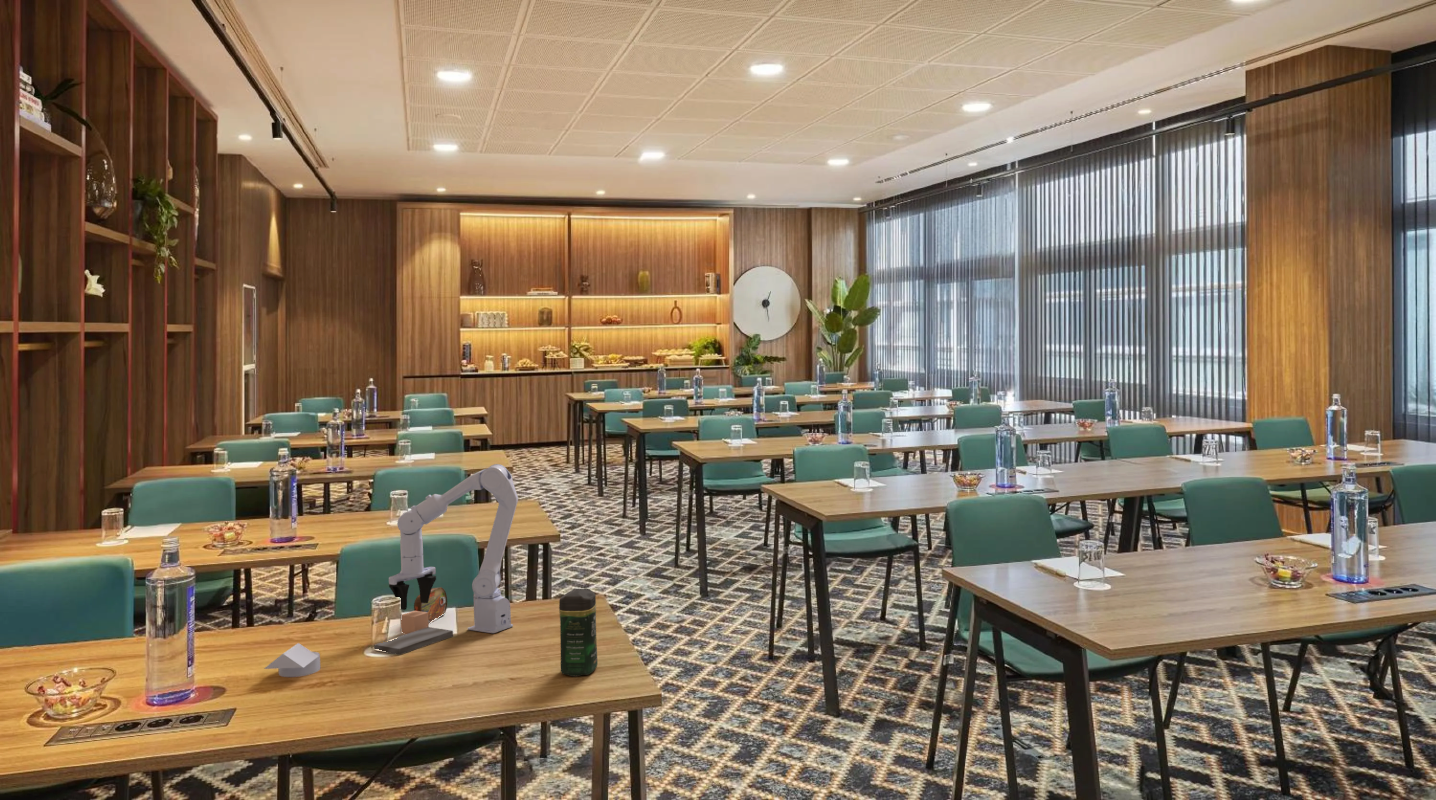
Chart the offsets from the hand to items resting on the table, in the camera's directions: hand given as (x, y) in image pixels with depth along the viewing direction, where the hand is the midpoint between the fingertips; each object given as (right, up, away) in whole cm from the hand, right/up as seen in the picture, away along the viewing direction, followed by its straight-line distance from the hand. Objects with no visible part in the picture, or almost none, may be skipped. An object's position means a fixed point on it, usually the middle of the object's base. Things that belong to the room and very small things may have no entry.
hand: (413, 605), depth 261 cm
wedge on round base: (-17, -9, -34) cm, 39 cm away
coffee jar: (+50, -7, -38) cm, 63 cm away
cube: (0, -7, 0) cm, 7 cm away
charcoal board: (+4, -7, -11) cm, 14 cm away
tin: (+1, -7, +13) cm, 14 cm away
